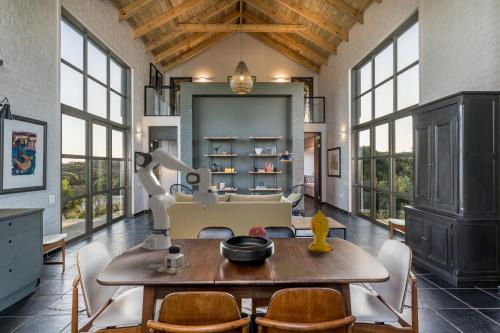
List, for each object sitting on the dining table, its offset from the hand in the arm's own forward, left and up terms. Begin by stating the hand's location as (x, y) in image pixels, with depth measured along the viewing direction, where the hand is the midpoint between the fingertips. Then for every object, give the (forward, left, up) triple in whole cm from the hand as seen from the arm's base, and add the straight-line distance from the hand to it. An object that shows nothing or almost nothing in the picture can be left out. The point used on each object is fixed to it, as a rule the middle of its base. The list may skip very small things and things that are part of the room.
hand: (205, 209), depth 203 cm
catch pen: (+6, -39, -29) cm, 49 cm away
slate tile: (-7, -42, -30) cm, 52 cm away
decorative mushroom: (+28, +29, -29) cm, 50 cm away
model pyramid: (+68, -14, -30) cm, 75 cm away
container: (+6, -39, -29) cm, 49 cm away
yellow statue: (+73, +42, -29) cm, 89 cm away
